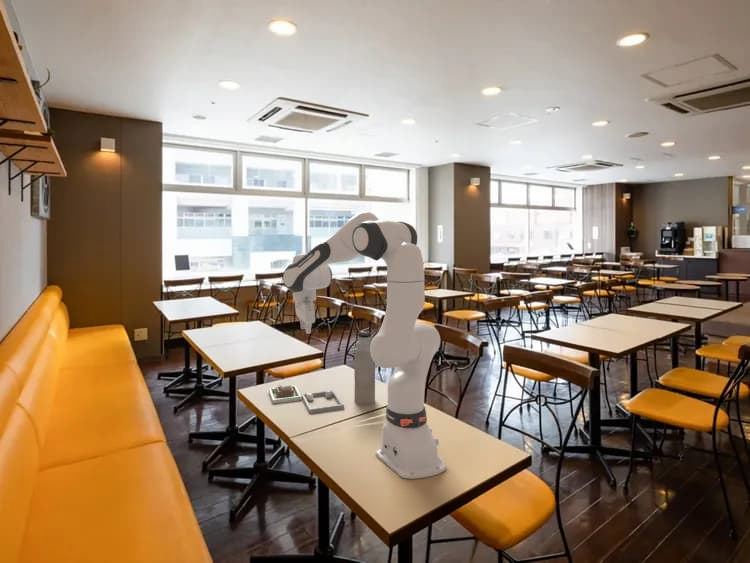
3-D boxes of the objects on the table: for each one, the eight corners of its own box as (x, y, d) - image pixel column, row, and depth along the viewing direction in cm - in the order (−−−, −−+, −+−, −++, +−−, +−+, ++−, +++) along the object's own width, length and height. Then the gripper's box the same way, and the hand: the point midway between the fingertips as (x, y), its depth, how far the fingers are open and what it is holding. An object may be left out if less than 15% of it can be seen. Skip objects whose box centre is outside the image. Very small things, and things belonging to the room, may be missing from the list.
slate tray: (344, 411, 166) (344, 404, 165) (309, 416, 161) (309, 409, 161) (333, 395, 180) (333, 390, 180) (301, 400, 176) (301, 394, 176)
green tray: (301, 402, 174) (301, 396, 173) (272, 406, 170) (272, 400, 170) (295, 391, 186) (295, 385, 185) (269, 394, 182) (268, 388, 182)
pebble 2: (333, 399, 176) (333, 391, 175) (326, 400, 175) (326, 392, 174) (331, 396, 178) (331, 389, 178) (324, 397, 177) (324, 390, 177)
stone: (290, 396, 177) (290, 385, 177) (282, 397, 175) (282, 386, 175) (287, 393, 180) (286, 383, 179) (279, 395, 178) (279, 384, 177)
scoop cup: (293, 398, 176) (293, 390, 175) (278, 400, 174) (278, 392, 173) (291, 393, 181) (291, 385, 181) (276, 395, 179) (276, 386, 179)
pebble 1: (314, 401, 173) (314, 394, 172) (306, 402, 172) (306, 395, 171) (312, 399, 176) (312, 391, 175) (305, 400, 175) (305, 392, 174)
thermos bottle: (375, 400, 176) (375, 331, 173) (374, 408, 168) (374, 336, 165) (355, 399, 177) (355, 331, 173) (353, 407, 169) (353, 336, 165)
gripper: (318, 298, 162) (319, 335, 163) (307, 292, 181) (308, 325, 183) (301, 299, 160) (302, 337, 161) (291, 293, 179) (293, 327, 180)
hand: (305, 331), depth 172 cm, fingers open, 8 cm apart
